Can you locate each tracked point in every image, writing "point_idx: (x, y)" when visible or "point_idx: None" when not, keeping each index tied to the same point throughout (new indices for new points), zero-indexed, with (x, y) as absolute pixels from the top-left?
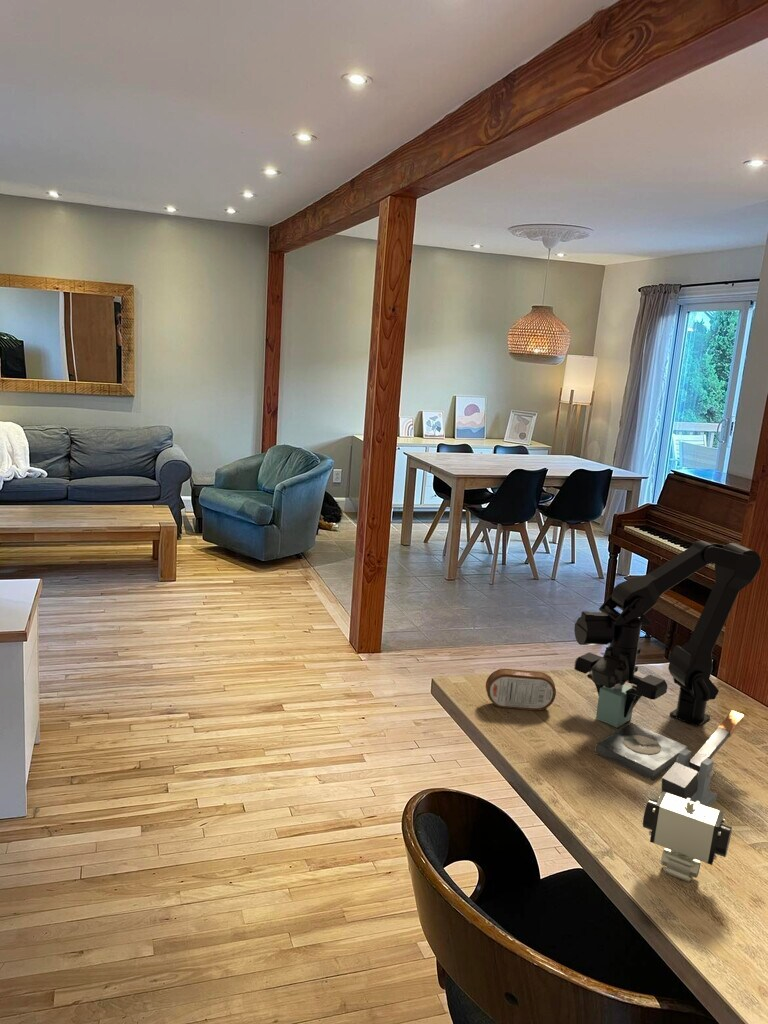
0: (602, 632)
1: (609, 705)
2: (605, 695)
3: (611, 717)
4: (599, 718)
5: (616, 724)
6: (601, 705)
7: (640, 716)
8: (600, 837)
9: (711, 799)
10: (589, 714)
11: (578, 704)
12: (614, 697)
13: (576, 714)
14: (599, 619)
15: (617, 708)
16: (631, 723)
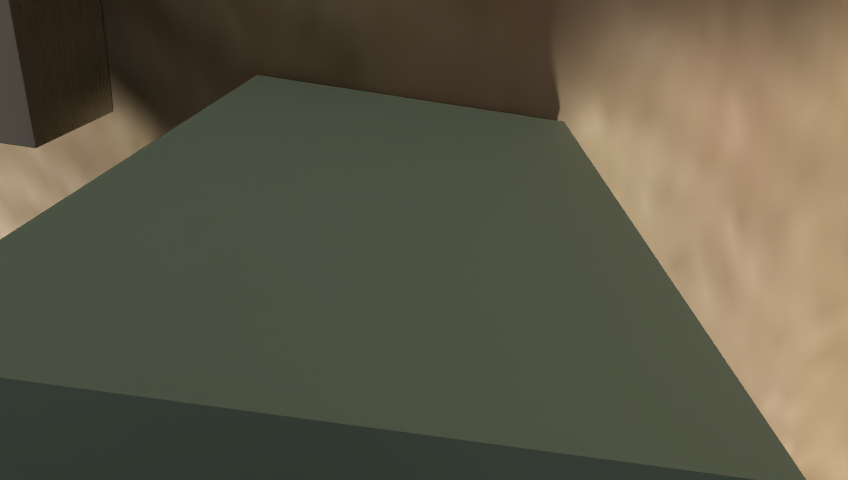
0: None
1: (367, 190)
2: (509, 321)
3: (332, 116)
4: (515, 118)
5: (258, 83)
6: (540, 190)
7: None
8: None
9: None
10: (664, 186)
11: (832, 324)
12: (189, 307)
13: (825, 63)
14: None
15: (178, 171)
16: (15, 119)
